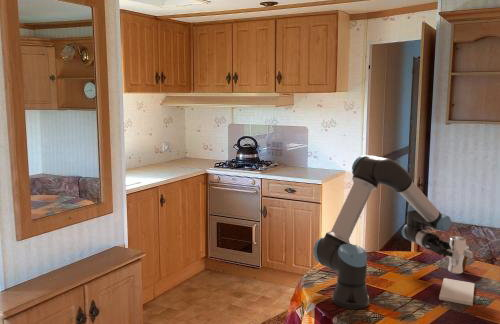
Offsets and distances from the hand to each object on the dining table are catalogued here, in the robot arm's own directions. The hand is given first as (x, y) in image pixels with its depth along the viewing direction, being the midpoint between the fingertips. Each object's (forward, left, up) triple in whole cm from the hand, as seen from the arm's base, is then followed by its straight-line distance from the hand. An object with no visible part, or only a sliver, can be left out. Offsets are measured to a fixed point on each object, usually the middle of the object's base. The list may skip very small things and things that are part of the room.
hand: (465, 256), depth 202 cm
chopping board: (+1, +3, -18) cm, 18 cm away
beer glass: (+1, +5, -9) cm, 10 cm away
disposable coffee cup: (+27, +19, -18) cm, 38 cm away
